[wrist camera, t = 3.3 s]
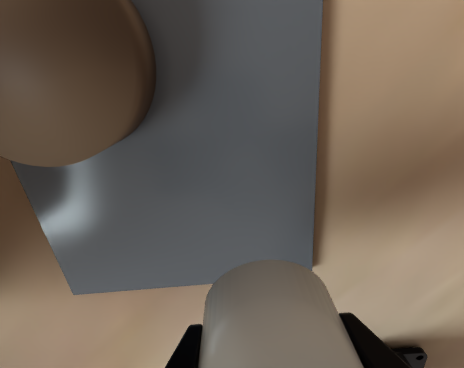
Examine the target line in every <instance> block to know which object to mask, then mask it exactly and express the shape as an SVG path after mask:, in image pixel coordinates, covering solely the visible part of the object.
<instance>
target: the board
mask: <svg viewBox="0 0 464 368" xmlns="http://www.w3.org/2000/svg"><path fill="white" fill-rule="evenodd" d="M131 1H132V2H133V4H134V5H135V7H136V8H137V10H138V12H139V13H140V15H141V17H142V19H143V21H144V23H145V25H146V27H147V30H148V33H149V36H150V38H151V41H152V45H153V49H154V54H155V61H156V86H155V93H154V97H153V101H152V103H151V106H150V109H149V111H148V113H147V115H146V116H145V118H144V120H143V121H142V122H141V124H140V125H139V126H138V127H137V128H136V129H135V130H134V131H133V132H132V133H131V134H130V135H129V136H127V137H126V138H124V139H123V140H121V141H119V142H117V143H116V144H114V145H112V146H110V147H109V148H107V149H105V150H103V151H102V152H100V153H98V154H96V155H94V156H92V157H90V158H88V159H86V160H84V161H82V162H78V163H75V164H72V165H66V166H60V167H42V166H32V165H27V164H22V163H18V162H15V161H12V160H10V161H11V163H12V165H13V167H14V169H15V171H16V174H17V176H18V178H19V180H20V182H21V184H22V186H23V188H24V191H25V193H26V195H27V197H28V199H29V201H30V203H31V206H32V208H33V210H34V212H35V214H36V216H37V218H38V220H39V223H40V225H41V227H42V229H43V231H44V233H45V235H46V237H47V240H48V242H49V244H50V246H51V248H52V250H53V252H54V255H55V257H56V259H57V261H58V263H59V265H60V267H61V269H62V272H63V274H64V276H65V278H66V280H67V282H68V284H69V286H70V289H71V291H72V293H73V295H79V294H91V293H104V292H116V291H128V290H141V289H153V288H165V287H178V286H190V285H202V284H214V283H215V282H216V281H217V280H218V279H219V278H220V277H221V276H223V275H224V274H225V273H227V272H228V271H230V270H232V269H234V268H236V267H238V266H240V265H243V264H246V263H249V262H254V261H260V260H283V261H289V262H293V263H296V264H299V265H301V266H304V267H306V268H308V269H309V270H311V271H312V258H313V233H314V208H315V184H316V159H317V134H318V110H319V85H320V60H321V35H322V11H323V0H131Z"/></svg>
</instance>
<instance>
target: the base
mask: <svg viewBox="0 0 464 368" xmlns="http://www.w3.org/2000/svg"><path fill="white" fill-rule="evenodd" d="M155 86H156V61H155V54H154V49H153V45H152V41H151V38H150V36H149V33H148V30H147V27H146V25H145V23H144V21H143V19H142V17H141V15H140V13H139V12H138V10H137V8H136V7H135V5H134V4H133V2H132V1H131V0H0V156H1V157H3V158H6V159H9V160H12V161H15V162H18V163H22V164H27V165H32V166H42V167H60V166H66V165H72V164H75V163H78V162H82V161H84V160H86V159H88V158H90V157H92V156H94V155H96V154H98V153H100V152H102V151H103V150H105V149H107V148H109V147H110V146H112V145H114V144H116V143H117V142H119V141H121V140H123V139H124V138H126V137H127V136H129V135H130V134H131V133H132V132H133V131H134V130H135V129H136V128H137V127H138V126H139V125H140V124H141V122H142V121H143V120H144V118H145V116H146V115H147V113H148V111H149V109H150V106H151V103H152V101H153V97H154V93H155Z"/></svg>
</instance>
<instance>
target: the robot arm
mask: <svg viewBox="0 0 464 368" xmlns="http://www.w3.org/2000/svg"><path fill="white" fill-rule="evenodd" d="M339 316H340V318H341V320H342V322H343V324H344V327H345V329H346V331H347V333H348V335H349V337H350V339H351V342H352V344H353V346H354V348H355V350H356V352H357V354H358V357H359V359H360V361H361V363H362V365H363V367H364V368H424V365H425V362H426V359H427V355H426V353H425V352H424V350H423V349H422V348H420V347H415V348H401V349H390V348H389V347H388V346H387V345H386V344H385V343H384V342H383V341H382V340H380V339H379V338H378V337H377V336H376V335H375V334H374V333H373V332H372V331H371V330H370V329H369V328H368V327H366V326H365V325H364V324H363V323H362V322H361V321H360V320H359V319H358V318H357V317H356V316H355V315H353V314H352V313H339ZM201 335H202V325H201V324H195V325H190V326H189V327H188V329H187V330H186V332H185V334H184V335H183V337H182V339H181V341H180V342H179V344H178V346H177V348H176V349H175V351H174V353H173V354H172V356H171V358H170V360H169V361H168V363H167V365H166V366H165V368H198V363H199V354H200V345H201Z"/></svg>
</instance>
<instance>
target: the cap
mask: <svg viewBox="0 0 464 368" xmlns="http://www.w3.org/2000/svg"><path fill="white" fill-rule="evenodd" d="M198 368H364V367H363V365H362V363H361V361H360V359H359V357H358V354H357V352H356V350H355V348H354V346H353V344H352V342H351V339H350V337H349V335H348V333H347V331H346V329H345V327H344V324H343V322H342V320H341V318H340V316H339V314H338V312H337V309H336V307H335V305H334V303H333V301H332V299H331V297H330V294H329V292H328V290H327V288H326V286H325V284H324V283H323V281H322V280H321V279H320V278H319V277H318V276H317V275H316V274H315V273H314V272H312V271H311V270H309V269H308V268H306V267H304V266H301V265H299V264H296V263H293V262H289V261H283V260H260V261H254V262H249V263H246V264H243V265H240V266H238V267H236V268H234V269H232V270H230V271H228V272H227V273H225V274H224V275H223V276H221V277H220V278H219V279H218V280H217V281H216V282H215V283H214V284H213V286H212V287H211V289H210V290H209V292H208V294H207V297H206V301H205V308H204V317H203V326H202V335H201V345H200V354H199V363H198Z"/></svg>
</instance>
